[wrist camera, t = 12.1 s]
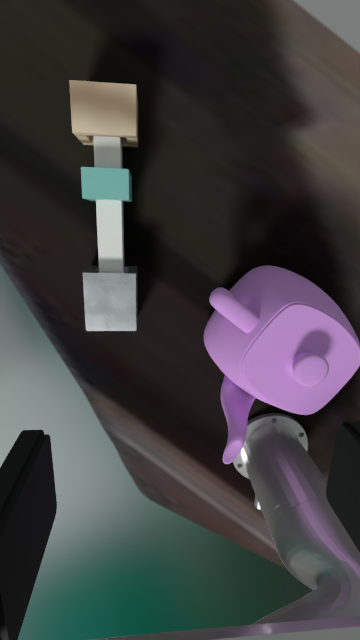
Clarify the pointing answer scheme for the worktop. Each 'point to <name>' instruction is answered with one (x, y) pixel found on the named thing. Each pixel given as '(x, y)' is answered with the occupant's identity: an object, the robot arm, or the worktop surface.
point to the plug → (108, 199)
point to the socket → (104, 111)
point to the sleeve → (111, 299)
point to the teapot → (277, 347)
